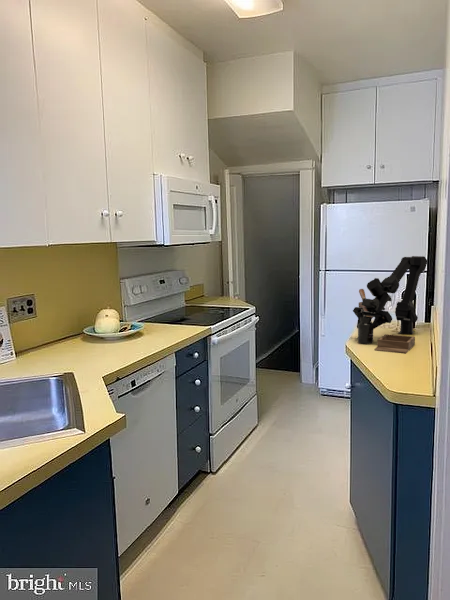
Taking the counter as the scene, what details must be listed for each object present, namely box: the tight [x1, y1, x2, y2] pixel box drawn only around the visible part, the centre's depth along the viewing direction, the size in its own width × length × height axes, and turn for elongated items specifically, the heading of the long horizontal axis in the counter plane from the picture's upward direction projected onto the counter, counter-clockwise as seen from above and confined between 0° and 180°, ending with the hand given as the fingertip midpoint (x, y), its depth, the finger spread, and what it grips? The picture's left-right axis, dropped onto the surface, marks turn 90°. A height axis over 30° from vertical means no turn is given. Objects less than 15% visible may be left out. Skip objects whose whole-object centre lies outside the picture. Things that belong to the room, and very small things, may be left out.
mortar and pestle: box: [358, 288, 374, 323], centre depth 258 cm, size 12×9×20 cm
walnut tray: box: [374, 333, 416, 354], centre depth 211 cm, size 18×13×4 cm
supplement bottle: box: [357, 316, 374, 345], centre depth 221 cm, size 7×7×12 cm
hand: (363, 329), depth 220 cm, fingers closed on supplement bottle, 7 cm apart
